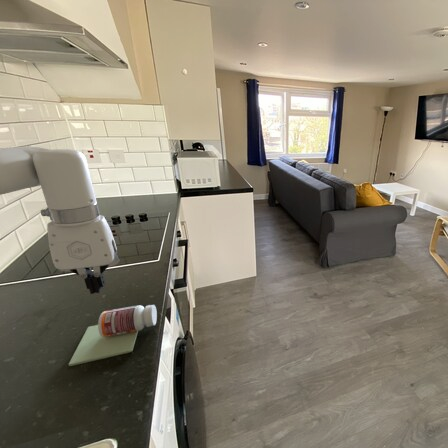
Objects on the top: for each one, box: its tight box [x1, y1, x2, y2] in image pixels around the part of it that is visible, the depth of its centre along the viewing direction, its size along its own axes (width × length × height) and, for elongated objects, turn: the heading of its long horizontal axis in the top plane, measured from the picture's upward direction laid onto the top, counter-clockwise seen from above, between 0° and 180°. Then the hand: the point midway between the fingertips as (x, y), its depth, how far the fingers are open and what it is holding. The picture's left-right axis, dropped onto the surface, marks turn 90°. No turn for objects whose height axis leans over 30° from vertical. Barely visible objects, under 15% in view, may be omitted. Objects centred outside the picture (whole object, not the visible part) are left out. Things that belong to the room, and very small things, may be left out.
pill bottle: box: [97, 304, 158, 337], centre depth 65 cm, size 6×6×11 cm
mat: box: [68, 324, 139, 367], centre depth 64 cm, size 12×12×1 cm
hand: (97, 289), depth 59 cm, fingers closed
